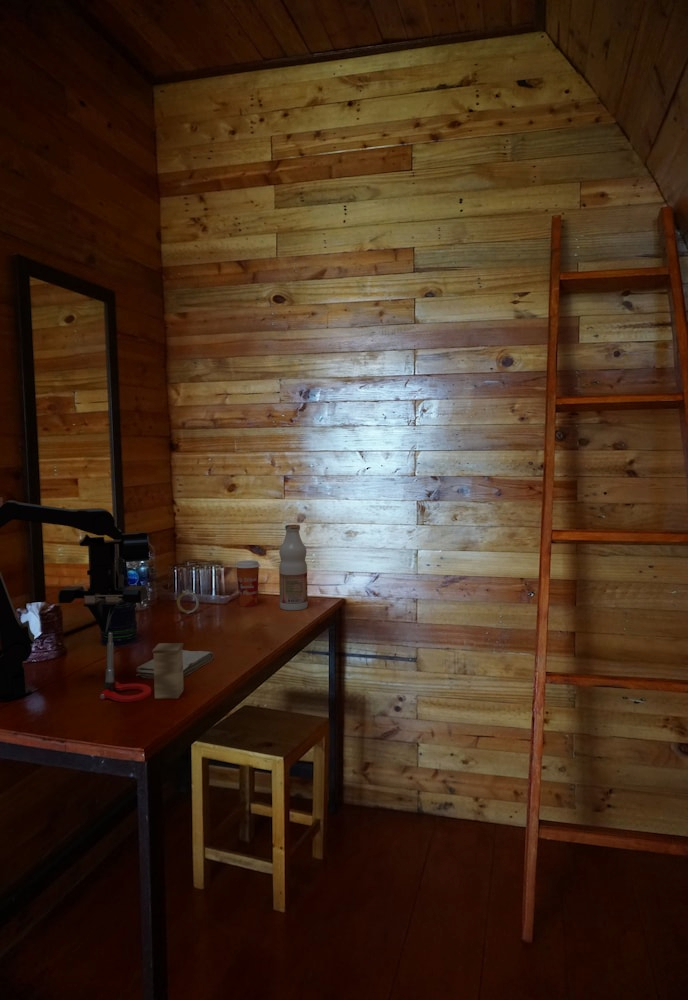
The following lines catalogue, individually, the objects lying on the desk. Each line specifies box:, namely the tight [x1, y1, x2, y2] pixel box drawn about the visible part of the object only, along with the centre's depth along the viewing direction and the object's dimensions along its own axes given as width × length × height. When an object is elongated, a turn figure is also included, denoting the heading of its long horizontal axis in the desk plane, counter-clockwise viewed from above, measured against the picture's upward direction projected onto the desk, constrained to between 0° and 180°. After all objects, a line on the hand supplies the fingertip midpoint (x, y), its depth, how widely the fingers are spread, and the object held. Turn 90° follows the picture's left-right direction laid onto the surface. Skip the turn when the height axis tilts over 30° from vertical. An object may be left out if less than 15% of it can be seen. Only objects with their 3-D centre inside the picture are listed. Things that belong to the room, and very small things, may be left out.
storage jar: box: [99, 577, 138, 648], centre depth 190 cm, size 10×10×18 cm
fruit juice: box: [278, 524, 309, 612], centre depth 229 cm, size 9×9×28 cm
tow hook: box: [98, 632, 152, 703], centre depth 149 cm, size 9×14×10 cm
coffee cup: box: [235, 559, 261, 608], centre depth 234 cm, size 8×8×15 cm
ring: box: [176, 588, 200, 614], centre depth 223 cm, size 7×3×8 cm, turn 83°
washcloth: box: [135, 649, 214, 680], centre depth 168 cm, size 12×18×3 cm, turn 163°
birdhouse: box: [151, 642, 184, 699], centre depth 151 cm, size 5×9×11 cm, turn 0°
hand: (104, 631), depth 156 cm, fingers closed
